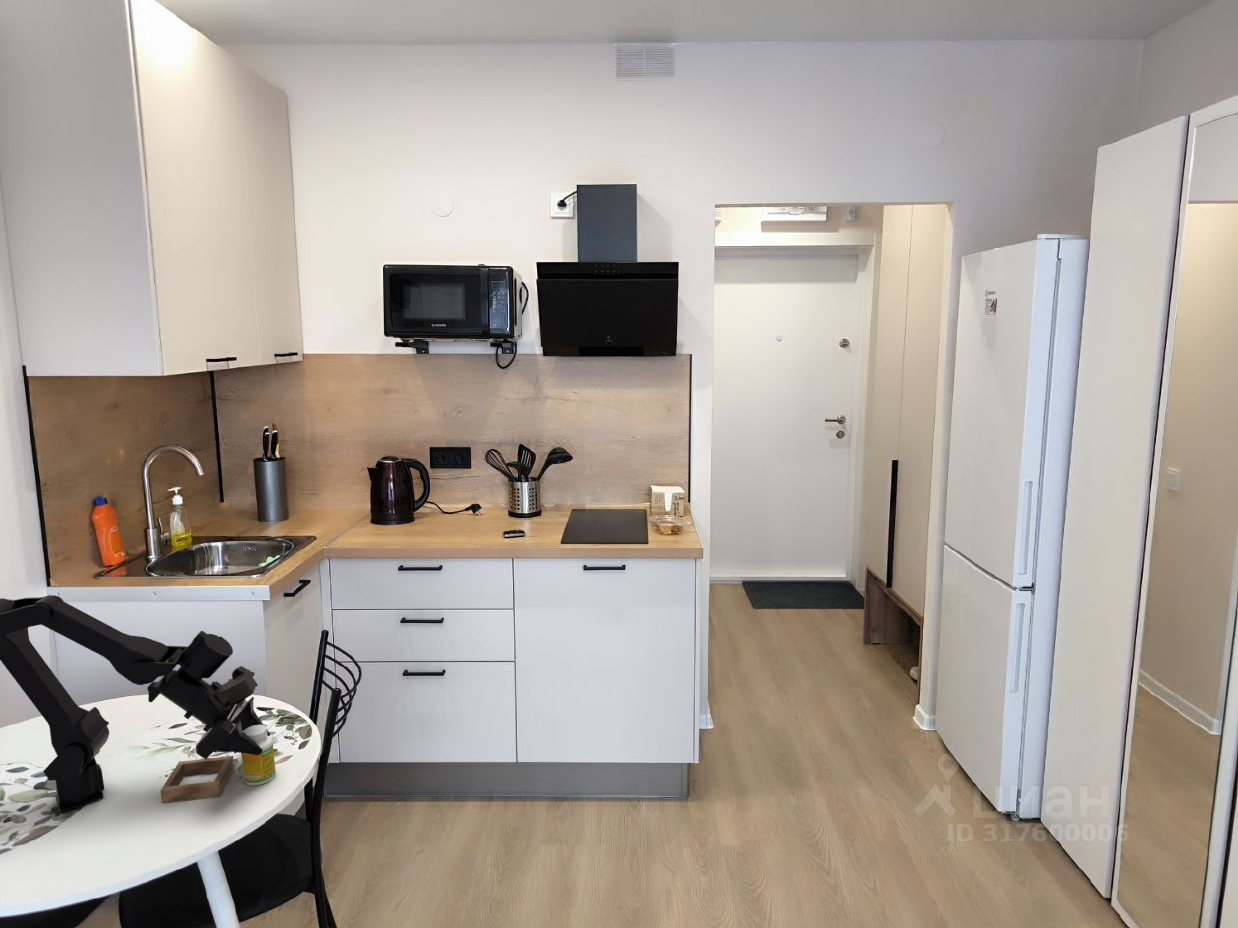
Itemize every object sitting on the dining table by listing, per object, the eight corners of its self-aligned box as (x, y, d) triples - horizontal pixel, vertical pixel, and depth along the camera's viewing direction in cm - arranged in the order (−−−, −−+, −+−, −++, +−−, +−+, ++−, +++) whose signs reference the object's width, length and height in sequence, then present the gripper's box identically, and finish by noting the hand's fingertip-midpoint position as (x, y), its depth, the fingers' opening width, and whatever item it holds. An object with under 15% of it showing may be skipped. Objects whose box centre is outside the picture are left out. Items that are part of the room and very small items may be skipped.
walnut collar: (162, 802, 142) (160, 790, 142) (180, 773, 151) (179, 761, 151) (219, 796, 144) (218, 783, 143) (234, 767, 153) (233, 755, 153)
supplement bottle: (267, 786, 147) (262, 737, 145) (238, 786, 147) (233, 737, 145) (280, 769, 152) (276, 722, 150) (252, 769, 152) (247, 722, 151)
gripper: (208, 685, 136) (283, 738, 140) (238, 642, 154) (304, 690, 158) (163, 733, 136) (239, 785, 140) (198, 684, 154) (265, 731, 158)
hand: (264, 744), depth 149 cm, fingers closed on supplement bottle, 5 cm apart
